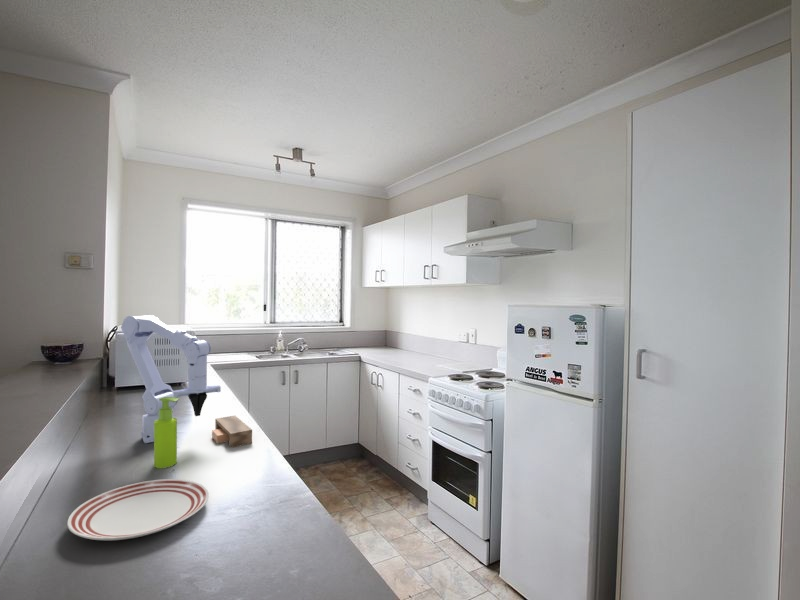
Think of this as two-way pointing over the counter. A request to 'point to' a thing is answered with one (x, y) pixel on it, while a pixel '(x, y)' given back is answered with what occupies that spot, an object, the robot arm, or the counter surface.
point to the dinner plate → (137, 509)
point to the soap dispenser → (165, 436)
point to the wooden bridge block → (235, 430)
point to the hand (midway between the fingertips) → (197, 415)
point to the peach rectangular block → (220, 435)
